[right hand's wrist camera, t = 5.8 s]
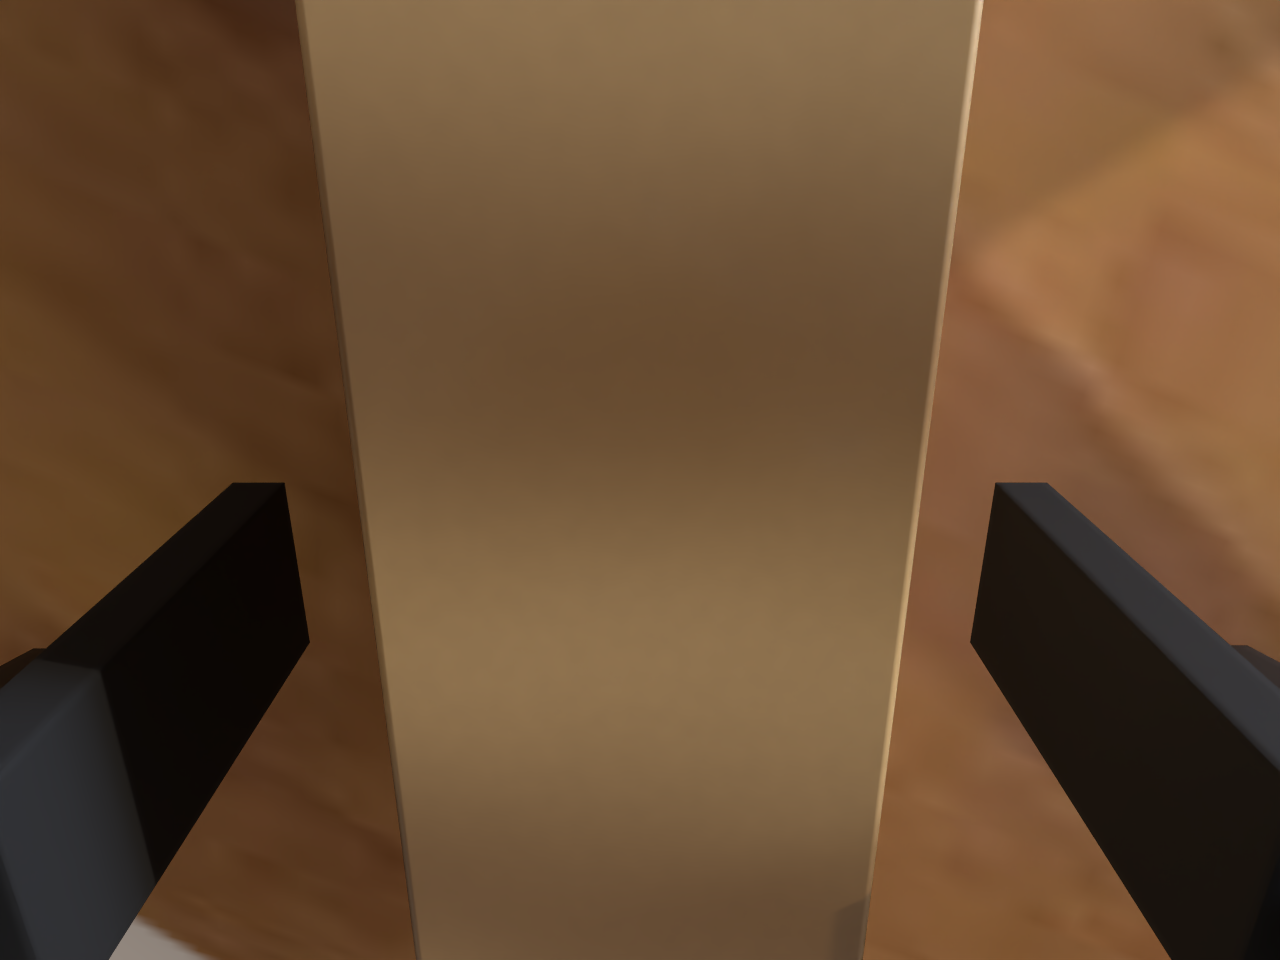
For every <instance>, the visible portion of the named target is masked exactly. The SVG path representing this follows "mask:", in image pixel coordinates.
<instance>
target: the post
mask: <svg viewBox="0 0 1280 960" xmlns="http://www.w3.org/2000/svg"><path fill="white" fill-rule="evenodd" d="M983 2H984V0H295V7H296V15H297V23H298V30H299V38H300V46H301V54H302V62H303V70H304V78H305V86H306V94H307V102H308V109H309V117H310V125H311V133H312V141H313V149H314V157H315V165H316V173H317V180H318V188H319V196H320V204H321V212H322V220H323V228H324V236H325V244H326V252H327V259H328V267H329V275H330V283H331V291H332V299H333V307H334V315H335V323H336V330H337V338H338V346H339V354H340V362H341V370H342V378H343V386H344V394H345V402H346V409H347V417H348V425H349V433H350V441H351V449H352V457H353V465H354V473H355V481H356V488H357V496H358V504H359V512H360V520H361V528H362V536H363V544H364V552H365V559H366V567H367V575H368V583H369V591H370V599H371V607H372V615H373V623H374V631H375V638H376V646H377V654H378V662H379V670H380V678H381V686H382V694H383V702H384V710H385V717H386V725H387V733H388V741H389V749H390V757H391V765H392V773H393V781H394V788H395V796H396V804H397V812H398V820H399V828H400V836H401V844H402V852H403V860H404V867H405V875H406V883H407V891H408V899H409V907H410V915H411V923H412V931H413V938H414V946H415V954H416V960H863V953H864V945H865V937H866V929H867V921H868V914H869V906H870V898H871V890H872V882H873V874H874V866H875V858H876V850H877V842H878V834H879V826H880V818H881V811H882V803H883V795H884V787H885V779H886V771H887V763H888V755H889V747H890V739H891V731H892V723H893V715H894V707H895V700H896V692H897V684H898V676H899V668H900V660H901V652H902V644H903V636H904V628H905V620H906V612H907V604H908V596H909V589H910V581H911V573H912V565H913V557H914V549H915V541H916V533H917V525H918V517H919V509H920V501H921V493H922V485H923V478H924V470H925V462H926V454H927V446H928V438H929V430H930V422H931V414H932V406H933V398H934V390H935V382H936V374H937V367H938V359H939V351H940V343H941V335H942V327H943V319H944V311H945V303H946V295H947V287H948V279H949V271H950V263H951V256H952V248H953V240H954V232H955V224H956V216H957V208H958V200H959V192H960V184H961V176H962V168H963V160H964V152H965V145H966V137H967V129H968V121H969V113H970V105H971V97H972V89H973V81H974V73H975V65H976V57H977V49H978V41H979V34H980V26H981V18H982V10H983Z"/></svg>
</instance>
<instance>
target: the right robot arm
mask: <svg viewBox="0 0 1280 960" xmlns="http://www.w3.org/2000/svg"><path fill="white" fill-rule="evenodd" d="M309 643H310V641H309V634H308V628H307V622H306V615H305V609H304V603H303V597H302V590H301V584H300V578H299V571H298V565H297V559H296V552H295V546H294V540H293V533H292V527H291V521H290V515H289V508H288V502H287V496H286V489H285V483H232V484H231V485H230V486H229V487H228V488H226V489H225V490H224V491H223V492H222V493H221V494H220V495H219V496H217V497H216V498H215V499H214V500H213V501H212V502H211V503H210V504H208V505H207V506H206V507H205V508H204V509H203V510H202V511H201V512H199V513H198V514H197V515H196V516H195V517H194V518H193V519H192V520H190V521H189V522H188V523H187V524H186V525H185V526H184V527H183V528H181V529H180V530H179V531H178V532H177V533H176V534H175V535H174V536H172V537H171V538H170V539H169V540H168V541H167V542H166V543H165V544H163V545H162V546H161V547H160V548H159V549H158V550H157V551H156V552H154V553H153V554H152V555H151V556H150V557H149V558H148V559H147V560H145V561H144V562H143V563H142V564H141V565H140V566H139V567H137V568H136V569H135V570H134V571H133V572H132V573H131V574H130V575H128V576H127V577H126V578H125V579H124V580H123V581H122V582H121V583H119V584H118V585H117V586H116V587H115V588H114V589H113V590H112V591H110V592H109V593H108V594H107V595H106V596H105V597H104V598H103V599H101V600H100V601H99V602H98V603H97V604H96V605H95V606H94V607H92V608H91V609H90V610H89V611H88V612H87V613H86V614H85V615H83V616H82V617H81V618H80V619H79V620H78V621H77V622H76V623H74V624H73V625H72V626H71V627H70V628H69V629H68V630H67V631H65V632H64V633H63V634H62V635H61V636H60V637H59V638H58V639H56V640H55V641H54V642H53V643H52V644H51V645H50V646H48V647H47V648H46V649H32V650H30V651H28V652H26V653H24V654H22V655H20V656H18V657H17V658H15V659H13V660H11V661H9V662H7V663H5V664H3V665H2V666H0V960H109V958H110V957H111V955H112V953H113V952H114V950H115V949H116V947H117V946H118V944H119V942H120V941H121V939H122V938H123V936H124V935H125V933H126V931H127V930H128V928H129V927H130V925H131V923H132V922H133V920H134V919H135V917H136V916H137V914H138V912H139V911H140V909H141V908H142V906H143V905H144V903H145V901H146V900H147V898H148V897H149V895H150V894H151V892H152V890H153V889H154V887H155V886H156V884H157V882H158V881H159V879H160V878H161V876H162V875H163V873H164V871H165V870H166V868H167V867H168V865H169V864H170V862H171V860H172V859H173V857H174V856H175V854H176V852H177V851H178V849H179V848H180V846H181V845H182V843H183V841H184V840H185V838H186V837H187V835H188V834H189V832H190V830H191V829H192V827H193V826H194V824H195V823H196V821H197V819H198V818H199V816H200V815H201V813H202V811H203V810H204V808H205V807H206V805H207V804H208V802H209V800H210V799H211V797H212V796H213V794H214V793H215V791H216V789H217V788H218V786H219V785H220V783H221V782H222V780H223V778H224V777H225V775H226V774H227V772H228V770H229V769H230V767H231V766H232V764H233V763H234V761H235V759H236V758H237V756H238V755H239V753H240V752H241V750H242V748H243V747H244V745H245V744H246V742H247V741H248V739H249V737H250V736H251V734H252V733H253V731H254V729H255V728H256V726H257V725H258V723H259V722H260V720H261V718H262V717H263V715H264V714H265V712H266V711H267V709H268V707H269V706H270V704H271V703H272V701H273V699H274V698H275V696H276V695H277V693H278V692H279V690H280V688H281V687H282V685H283V684H284V682H285V681H286V679H287V677H288V676H289V674H290V673H291V671H292V670H293V668H294V666H295V665H296V663H297V662H298V660H299V658H300V657H301V655H302V654H303V652H304V651H305V649H306V647H307V646H308V644H309ZM970 643H971V644H972V646H973V647H974V649H975V651H976V652H977V654H978V655H979V657H980V659H981V660H982V662H983V663H984V665H985V666H986V668H987V670H988V671H989V673H990V674H991V676H992V677H993V679H994V681H995V682H996V684H997V685H998V687H999V688H1000V690H1001V692H1002V693H1003V695H1004V696H1005V698H1006V700H1007V701H1008V703H1009V704H1010V706H1011V707H1012V709H1013V711H1014V712H1015V714H1016V715H1017V717H1018V718H1019V720H1020V722H1021V723H1022V725H1023V726H1024V728H1025V729H1026V731H1027V733H1028V734H1029V736H1030V737H1031V739H1032V741H1033V742H1034V744H1035V745H1036V747H1037V748H1038V750H1039V752H1040V753H1041V755H1042V756H1043V758H1044V759H1045V761H1046V763H1047V764H1048V766H1049V767H1050V769H1051V770H1052V772H1053V774H1054V775H1055V777H1056V778H1057V780H1058V782H1059V783H1060V785H1061V786H1062V788H1063V789H1064V791H1065V793H1066V794H1067V796H1068V797H1069V799H1070V800H1071V802H1072V804H1073V805H1074V807H1075V808H1076V810H1077V812H1078V813H1079V815H1080V816H1081V818H1082V819H1083V821H1084V823H1085V824H1086V826H1087V827H1088V829H1089V830H1090V832H1091V834H1092V835H1093V837H1094V838H1095V840H1096V841H1097V843H1098V845H1099V846H1100V848H1101V849H1102V851H1103V853H1104V854H1105V856H1106V857H1107V859H1108V860H1109V862H1110V864H1111V865H1112V867H1113V868H1114V870H1115V871H1116V873H1117V875H1118V876H1119V878H1120V879H1121V881H1122V882H1123V884H1124V886H1125V887H1126V889H1127V890H1128V892H1129V894H1130V895H1131V897H1132V898H1133V900H1134V901H1135V903H1136V905H1137V906H1138V908H1139V909H1140V911H1141V912H1142V914H1143V916H1144V917H1145V919H1146V920H1147V922H1148V924H1149V925H1150V927H1151V928H1152V930H1153V931H1154V933H1155V935H1156V936H1157V938H1158V939H1159V941H1160V942H1161V944H1162V946H1163V947H1164V949H1165V950H1166V952H1167V953H1168V955H1169V957H1170V958H1171V960H1280V662H1278V661H1276V660H1274V659H1272V658H1270V657H1268V656H1266V655H1264V654H1263V653H1261V652H1259V651H1257V650H1255V649H1253V648H1251V647H1249V646H1247V645H1229V644H1228V643H1227V642H1226V641H1225V640H1224V639H1222V638H1221V637H1220V636H1219V635H1218V634H1217V633H1216V632H1215V631H1213V630H1212V629H1211V628H1210V627H1209V626H1208V625H1207V624H1206V623H1204V622H1203V621H1202V620H1201V619H1200V618H1199V617H1198V616H1197V615H1195V614H1194V613H1193V612H1192V611H1191V610H1190V609H1189V608H1188V607H1186V606H1185V605H1184V604H1183V603H1182V602H1181V601H1180V600H1179V599H1177V598H1176V597H1175V596H1174V595H1173V594H1172V593H1171V592H1170V591H1168V590H1167V589H1166V588H1165V587H1164V586H1163V585H1162V584H1161V583H1159V582H1158V581H1157V580H1156V579H1155V578H1154V577H1153V576H1152V575H1150V574H1149V573H1148V572H1147V571H1146V570H1145V569H1144V568H1142V567H1141V566H1140V565H1139V564H1138V563H1137V562H1136V561H1135V560H1133V559H1132V558H1131V557H1130V556H1129V555H1128V554H1127V553H1126V552H1124V551H1123V550H1122V549H1121V548H1120V547H1119V546H1118V545H1117V544H1115V543H1114V542H1113V541H1112V540H1111V539H1110V538H1109V537H1108V536H1106V535H1105V534H1104V533H1103V532H1102V531H1101V530H1100V529H1099V528H1097V527H1096V526H1095V525H1094V524H1093V523H1092V522H1091V521H1090V520H1088V519H1087V518H1086V517H1085V516H1084V515H1083V514H1082V513H1081V512H1079V511H1078V510H1077V509H1076V508H1075V507H1074V506H1073V505H1072V504H1070V503H1069V502H1068V501H1067V500H1066V499H1065V498H1064V497H1063V496H1061V495H1060V494H1059V493H1058V492H1057V491H1056V490H1055V489H1054V488H1052V487H1051V486H1050V485H1049V484H1048V483H995V489H994V496H993V502H992V508H991V514H990V521H989V527H988V533H987V540H986V546H985V552H984V559H983V565H982V571H981V577H980V584H979V590H978V596H977V603H976V609H975V615H974V622H973V628H972V634H971V641H970Z"/></svg>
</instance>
